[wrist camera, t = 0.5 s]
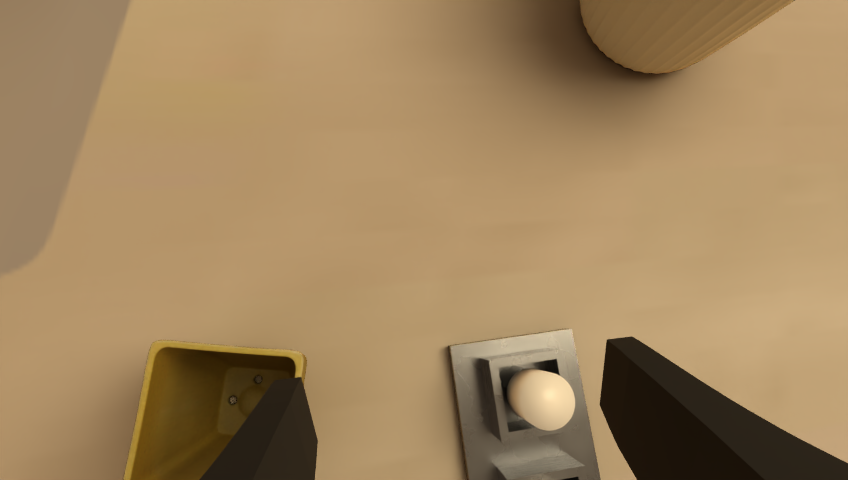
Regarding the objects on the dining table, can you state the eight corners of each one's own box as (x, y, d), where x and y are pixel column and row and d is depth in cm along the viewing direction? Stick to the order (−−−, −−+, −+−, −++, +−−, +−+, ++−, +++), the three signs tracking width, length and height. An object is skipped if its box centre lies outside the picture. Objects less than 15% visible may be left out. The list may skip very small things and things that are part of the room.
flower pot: (323, 346, 35) (304, 351, 27) (308, 466, 34) (283, 514, 25) (208, 336, 35) (150, 338, 26) (187, 458, 33) (116, 505, 24)
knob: (559, 415, 33) (579, 425, 29) (511, 423, 32) (526, 434, 29) (550, 364, 33) (569, 368, 30) (502, 371, 33) (516, 376, 29)
